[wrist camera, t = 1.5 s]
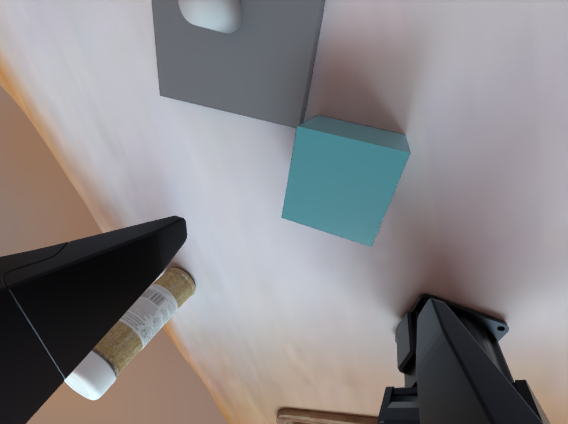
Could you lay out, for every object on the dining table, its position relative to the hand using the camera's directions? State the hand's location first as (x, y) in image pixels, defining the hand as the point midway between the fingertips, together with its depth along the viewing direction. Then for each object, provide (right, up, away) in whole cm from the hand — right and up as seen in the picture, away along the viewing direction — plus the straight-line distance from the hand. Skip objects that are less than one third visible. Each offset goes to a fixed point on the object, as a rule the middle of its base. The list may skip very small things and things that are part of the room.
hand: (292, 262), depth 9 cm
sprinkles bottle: (-13, -7, +24) cm, 28 cm away
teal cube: (+4, +5, +10) cm, 12 cm away
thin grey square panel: (-4, +15, +8) cm, 18 cm away
